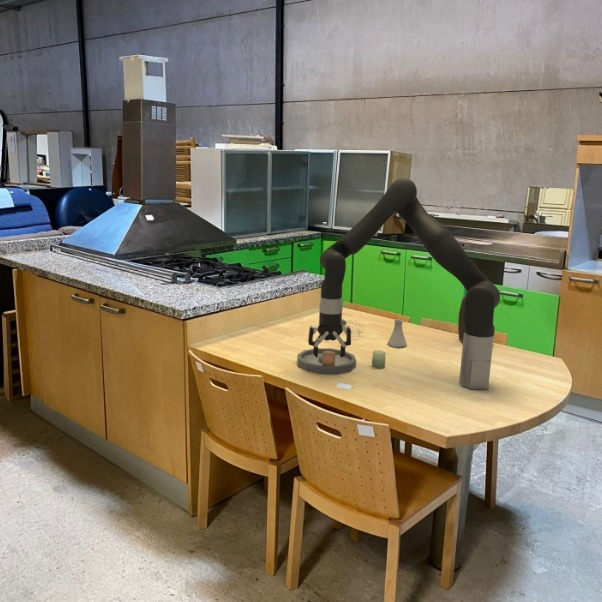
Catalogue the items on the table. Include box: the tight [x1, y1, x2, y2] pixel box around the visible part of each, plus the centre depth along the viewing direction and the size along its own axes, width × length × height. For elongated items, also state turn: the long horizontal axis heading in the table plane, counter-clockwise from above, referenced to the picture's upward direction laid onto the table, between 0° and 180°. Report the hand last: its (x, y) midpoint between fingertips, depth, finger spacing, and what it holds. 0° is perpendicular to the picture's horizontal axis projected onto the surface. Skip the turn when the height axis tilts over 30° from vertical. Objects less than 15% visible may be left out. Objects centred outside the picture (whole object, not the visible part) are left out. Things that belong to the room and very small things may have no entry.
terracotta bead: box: [322, 351, 335, 366], centre depth 206 cm, size 4×4×5 cm
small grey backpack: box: [457, 295, 466, 343], centre depth 240 cm, size 15×8×20 cm, turn 5°
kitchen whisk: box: [342, 318, 364, 336], centre depth 257 cm, size 6×34×6 cm, turn 18°
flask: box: [387, 319, 408, 349], centre depth 235 cm, size 7×7×10 cm
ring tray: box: [296, 347, 357, 375], centre depth 212 cm, size 20×20×2 cm
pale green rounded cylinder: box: [371, 350, 387, 369], centre depth 211 cm, size 4×4×5 cm
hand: (328, 356), depth 205 cm, fingers open, 8 cm apart
